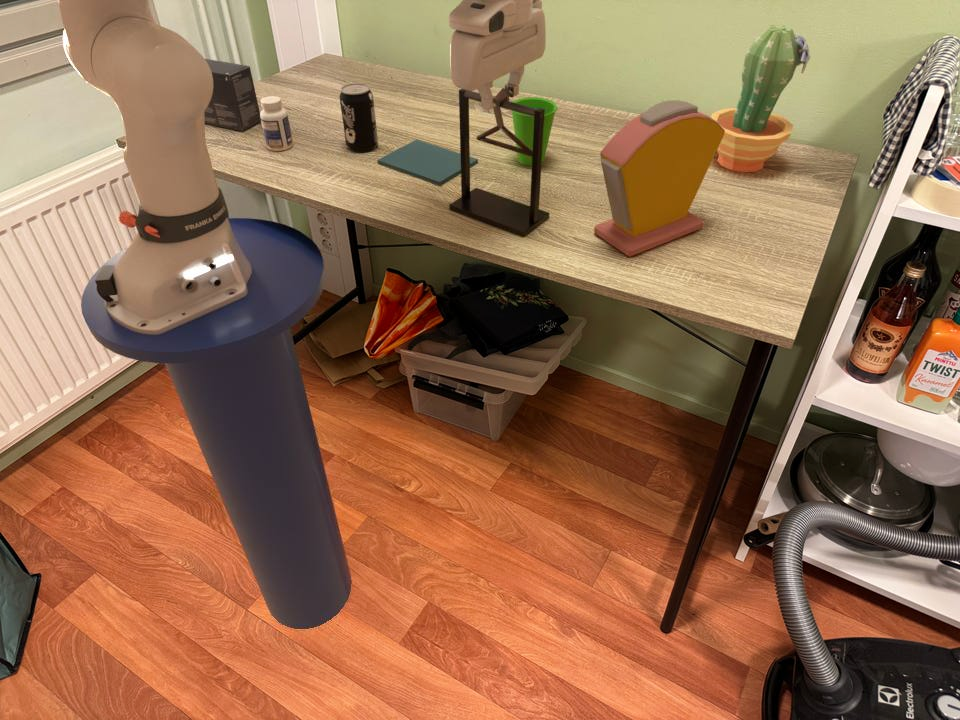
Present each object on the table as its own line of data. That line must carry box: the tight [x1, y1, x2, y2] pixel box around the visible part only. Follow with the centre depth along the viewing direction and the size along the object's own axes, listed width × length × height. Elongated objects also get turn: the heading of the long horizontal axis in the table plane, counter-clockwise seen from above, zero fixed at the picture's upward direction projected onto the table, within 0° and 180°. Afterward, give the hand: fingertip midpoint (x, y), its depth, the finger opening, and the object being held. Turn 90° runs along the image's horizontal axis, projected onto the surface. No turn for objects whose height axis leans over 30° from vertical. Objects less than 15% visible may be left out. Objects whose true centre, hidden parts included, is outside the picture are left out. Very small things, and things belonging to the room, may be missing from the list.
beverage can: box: [339, 82, 379, 153], centre depth 137 cm, size 7×7×12 cm
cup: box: [511, 96, 558, 167], centre depth 132 cm, size 9×9×11 cm
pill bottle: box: [260, 95, 294, 152], centre depth 138 cm, size 5×5×10 cm
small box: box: [204, 58, 261, 132], centre depth 147 cm, size 13×7×12 cm, turn 65°
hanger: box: [476, 87, 533, 157], centre depth 110 cm, size 3×12×10 cm, turn 53°
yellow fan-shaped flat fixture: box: [593, 99, 725, 258], centre depth 108 cm, size 22×9×22 cm, turn 123°
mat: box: [377, 139, 479, 187], centre depth 135 cm, size 12×16×1 cm
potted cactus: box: [710, 24, 811, 173], centre depth 127 cm, size 15×15×25 cm
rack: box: [448, 88, 550, 238], centre depth 113 cm, size 8×16×20 cm, turn 53°
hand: (500, 101), depth 107 cm, fingers open, 5 cm apart
